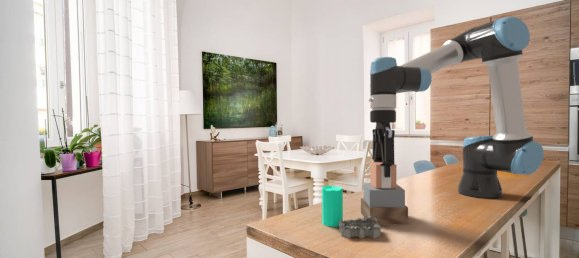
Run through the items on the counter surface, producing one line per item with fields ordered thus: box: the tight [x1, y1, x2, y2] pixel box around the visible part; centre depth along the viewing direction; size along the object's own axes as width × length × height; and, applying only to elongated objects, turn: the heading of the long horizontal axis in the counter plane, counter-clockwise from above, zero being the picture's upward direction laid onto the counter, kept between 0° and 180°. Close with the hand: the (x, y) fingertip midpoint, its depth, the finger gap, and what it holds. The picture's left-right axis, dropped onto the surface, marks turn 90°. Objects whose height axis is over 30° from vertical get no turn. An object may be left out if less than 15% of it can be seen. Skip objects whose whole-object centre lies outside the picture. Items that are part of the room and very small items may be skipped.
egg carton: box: [338, 215, 382, 239], centre depth 82 cm, size 11×8×4 cm
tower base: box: [360, 197, 409, 226], centre depth 94 cm, size 11×11×5 cm
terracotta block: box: [369, 161, 397, 188], centre depth 93 cm, size 6×6×7 cm
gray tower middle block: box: [363, 182, 406, 207], centre depth 94 cm, size 10×10×5 cm
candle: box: [321, 184, 344, 228], centre depth 90 cm, size 6×6×12 cm
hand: (382, 185), depth 93 cm, fingers closed on terracotta block, 6 cm apart
